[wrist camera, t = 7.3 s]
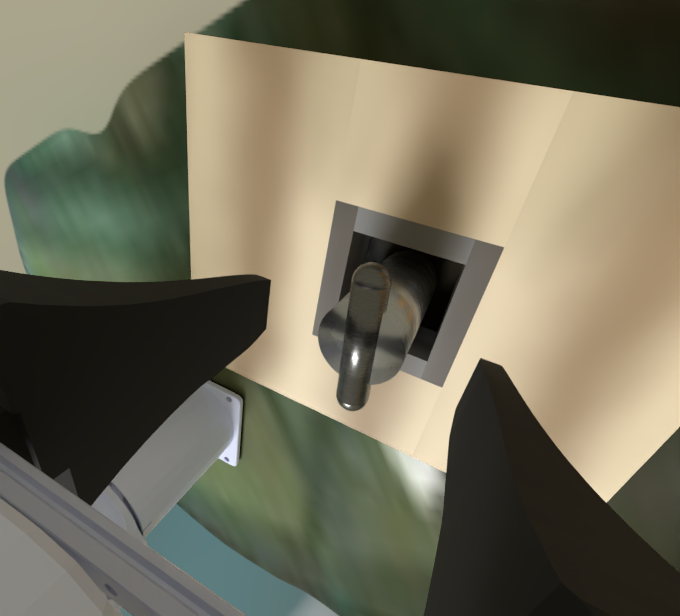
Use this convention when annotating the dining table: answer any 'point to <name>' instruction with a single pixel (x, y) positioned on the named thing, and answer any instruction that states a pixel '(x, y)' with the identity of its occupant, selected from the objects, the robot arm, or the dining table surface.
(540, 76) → the dining table surface
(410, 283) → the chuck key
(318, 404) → the block
